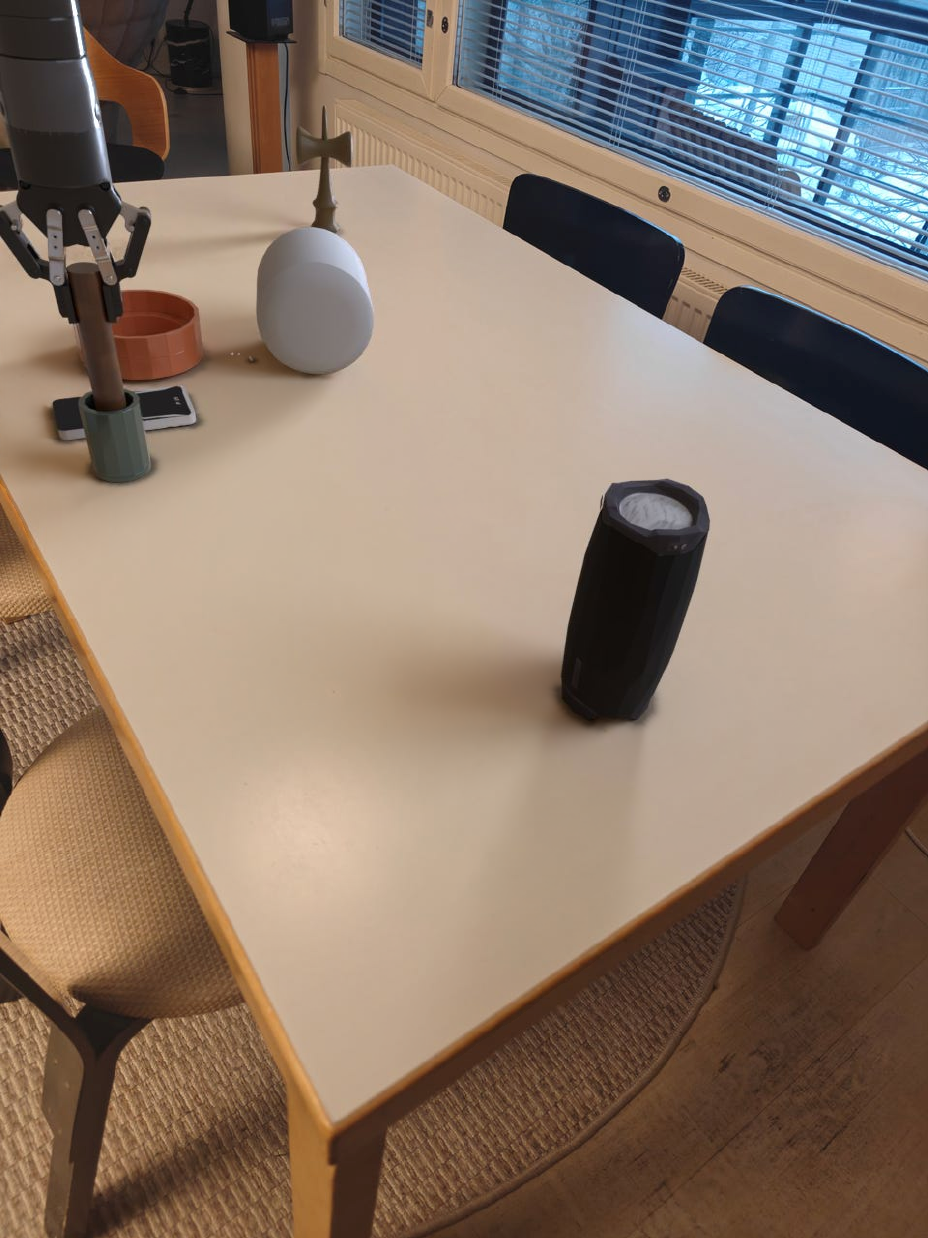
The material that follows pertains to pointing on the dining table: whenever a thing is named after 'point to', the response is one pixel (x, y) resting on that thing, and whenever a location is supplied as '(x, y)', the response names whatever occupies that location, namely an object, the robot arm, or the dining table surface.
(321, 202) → the kendama
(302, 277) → the white oval cylinder
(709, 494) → the dining table surface
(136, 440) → the holder
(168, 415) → the smartphone
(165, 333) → the bowl
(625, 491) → the portable speaker
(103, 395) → the stirring stick
